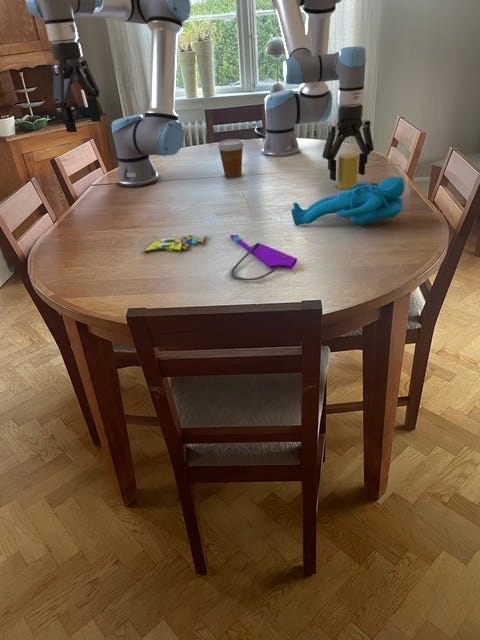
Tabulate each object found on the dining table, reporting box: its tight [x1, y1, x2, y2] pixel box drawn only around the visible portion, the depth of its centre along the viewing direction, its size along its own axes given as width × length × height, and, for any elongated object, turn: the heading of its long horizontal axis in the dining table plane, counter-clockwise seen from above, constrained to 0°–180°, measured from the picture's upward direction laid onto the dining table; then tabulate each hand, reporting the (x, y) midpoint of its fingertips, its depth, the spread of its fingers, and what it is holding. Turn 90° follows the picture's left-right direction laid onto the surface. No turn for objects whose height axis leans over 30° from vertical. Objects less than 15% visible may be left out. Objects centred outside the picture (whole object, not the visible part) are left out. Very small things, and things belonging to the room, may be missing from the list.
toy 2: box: [290, 176, 405, 227], centre depth 131 cm, size 17×11×30 cm
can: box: [336, 152, 359, 190], centre depth 158 cm, size 6×6×10 cm
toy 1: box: [144, 234, 207, 254], centre depth 130 cm, size 10×1×15 cm
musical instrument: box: [229, 234, 298, 281], centre depth 118 cm, size 24×2×20 cm
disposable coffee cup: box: [217, 138, 245, 178], centre depth 178 cm, size 10×10×12 cm
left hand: (84, 126), depth 139 cm, fingers open, 13 cm apart
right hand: (347, 176), depth 159 cm, fingers open, 10 cm apart
